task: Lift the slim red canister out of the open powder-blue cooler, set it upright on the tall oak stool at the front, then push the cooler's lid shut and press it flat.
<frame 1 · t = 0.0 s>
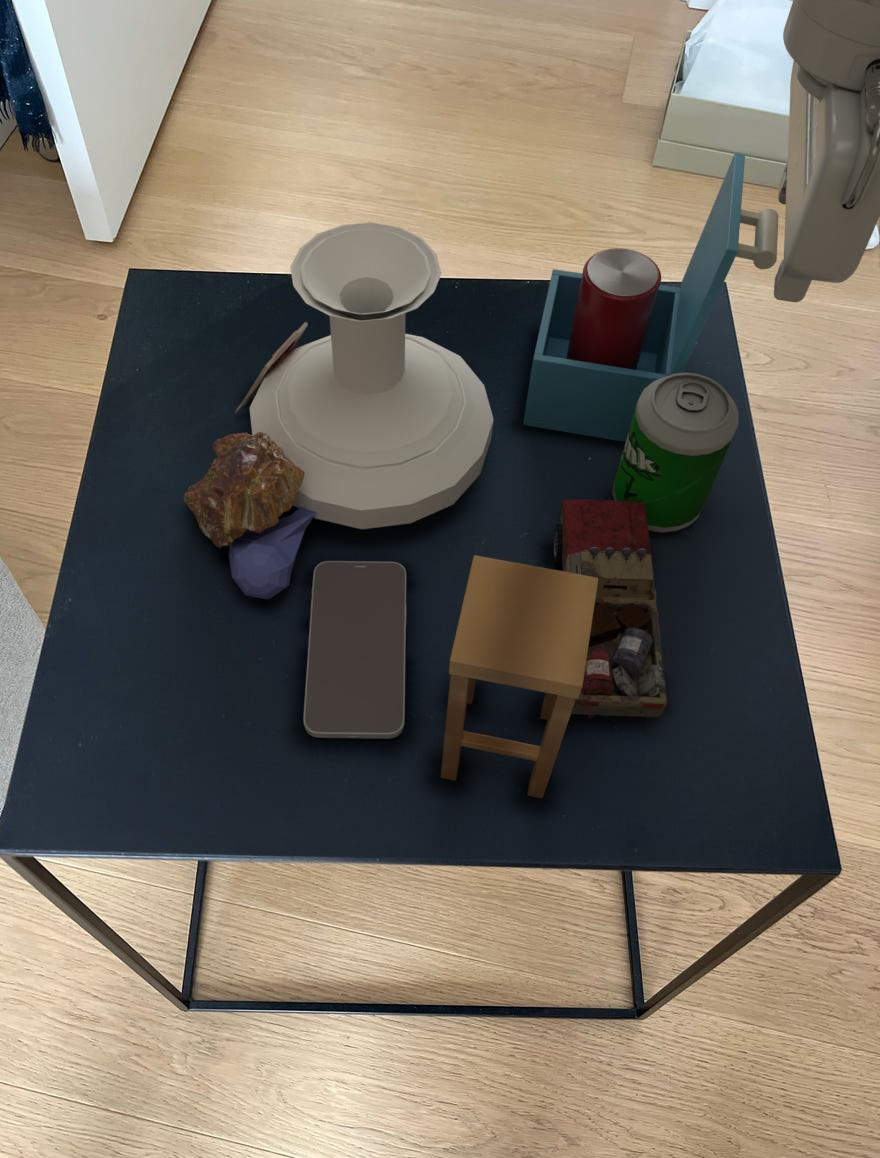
hand: (788, 244, 63), 24 cm above the table, tool pointing down, fingers open, 8 cm apart
decorative emblem: (308, 321, 84), point 7 cm above the table, touching candle holder
mineral specimen: (219, 447, 75), point 8 cm above the table, touching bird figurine, candle holder
red canister: (596, 384, 89), point 1 cm above the table, touching cooler
candle holder: (372, 458, 85), on the table, touching decorative emblem, mineral specimen
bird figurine: (261, 556, 74), point 5 cm above the table, touching mineral specimen
soda can: (654, 505, 83), on the table
smartphone: (357, 650, 75), on the table
cooler: (594, 389, 89), on the table
toy vehicle: (600, 627, 77), on the table
stool: (499, 742, 72), on the table
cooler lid: (729, 274, 76), point 14 cm above the table, hinge at 95.0°
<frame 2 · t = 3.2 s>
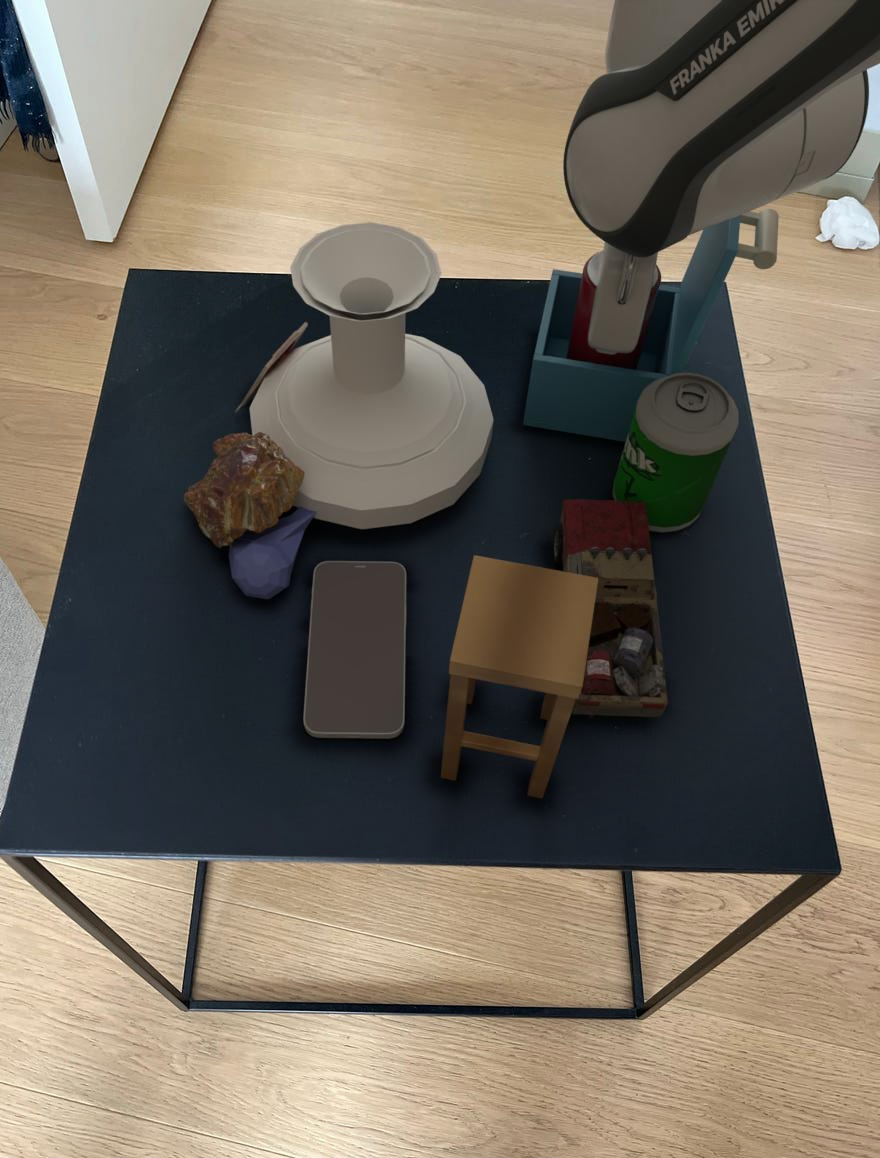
hand: (612, 316, 82), 8 cm above the table, tool pointing down, fingers closed on red canister, 6 cm apart
mineral specimen: (219, 447, 75), point 8 cm above the table, touching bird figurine, candle holder
red canister: (596, 383, 89), point 1 cm above the table, touching cooler, gripper
everything else where it was.
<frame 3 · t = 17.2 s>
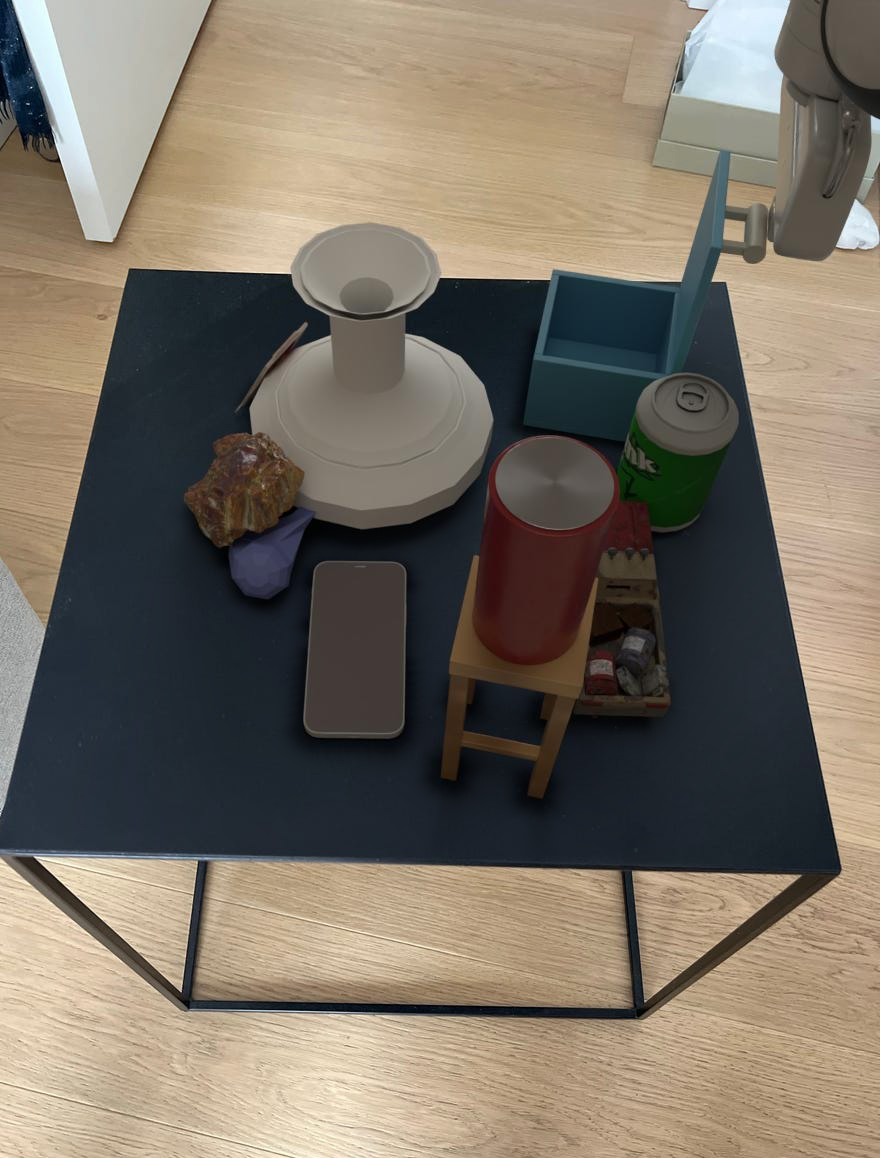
hand: (778, 230, 73), 18 cm above the table, tool pointing down, fingers closed, pressing on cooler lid
mineral specimen: (219, 447, 75), point 8 cm above the table, touching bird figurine, candle holder
red canister: (525, 618, 57), point 17 cm above the table, touching stool
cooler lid: (722, 271, 76), point 14 cm above the table, hinge at 89.7°, touching gripper
everything else where it was.
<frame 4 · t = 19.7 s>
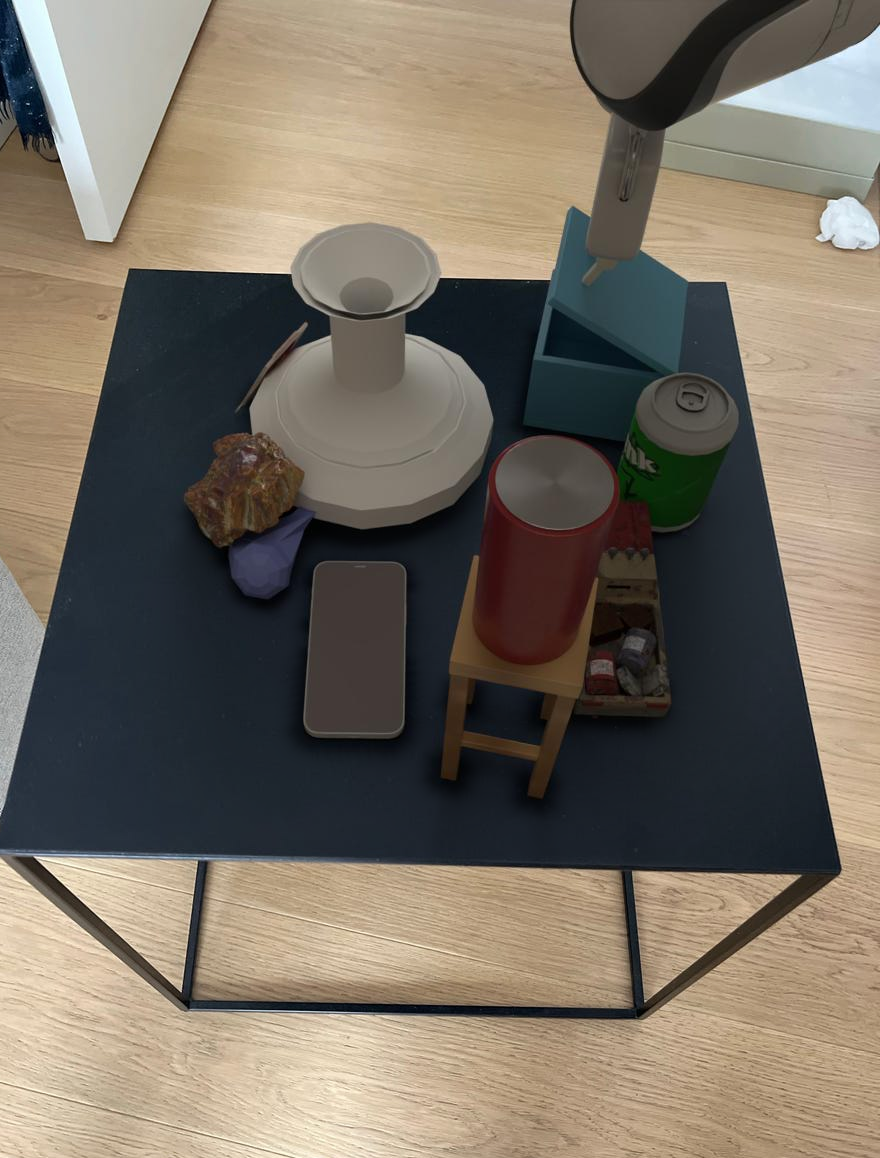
hand: (611, 231, 76), 16 cm above the table, tool pointing down, fingers closed, pressing on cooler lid
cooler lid: (635, 277, 79), point 13 cm above the table, hinge at 27.2°, touching gripper
everything else where it was.
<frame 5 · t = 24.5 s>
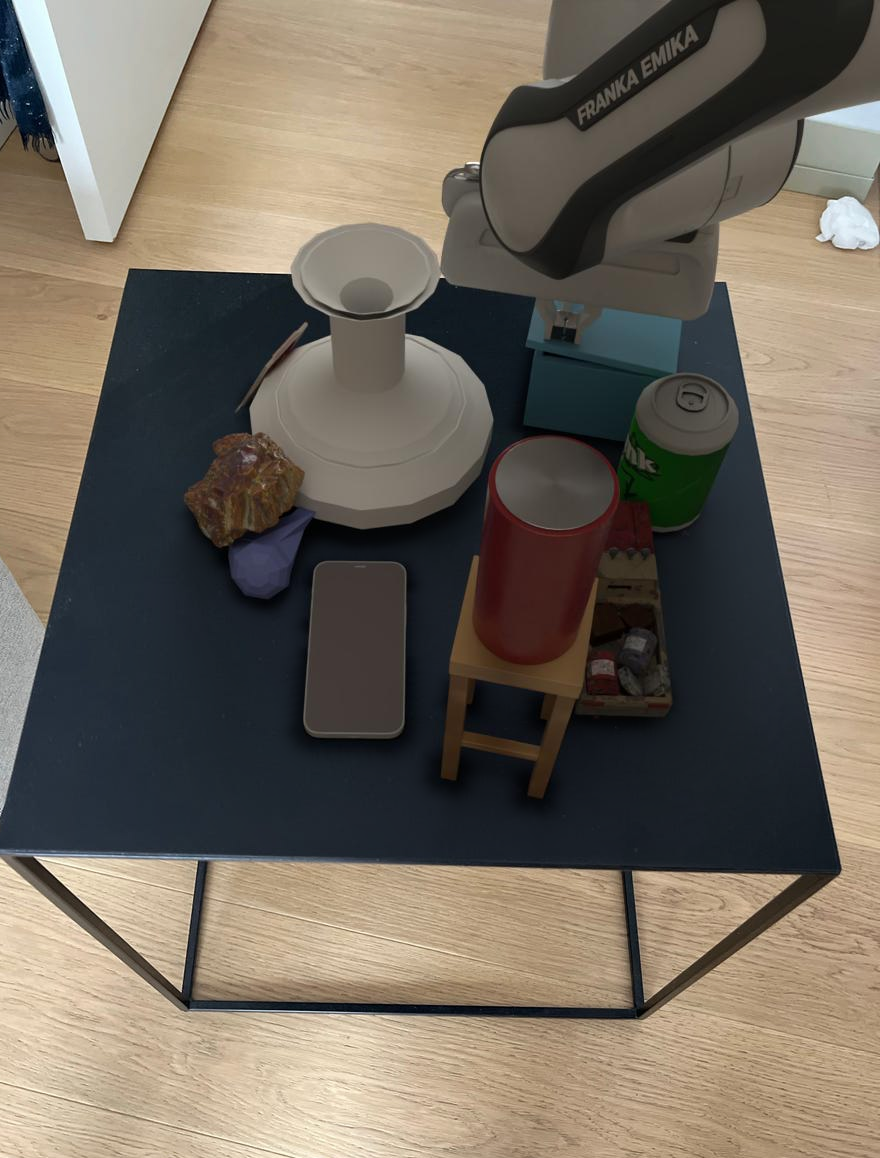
hand: (562, 336, 79), 10 cm above the table, tool pointing down, fingers closed
mineral specimen: (219, 447, 75), point 8 cm above the table, touching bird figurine, candle holder
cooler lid: (614, 295, 80), point 10 cm above the table, hinge at 5.0°, touching gripper
everything else where it was.
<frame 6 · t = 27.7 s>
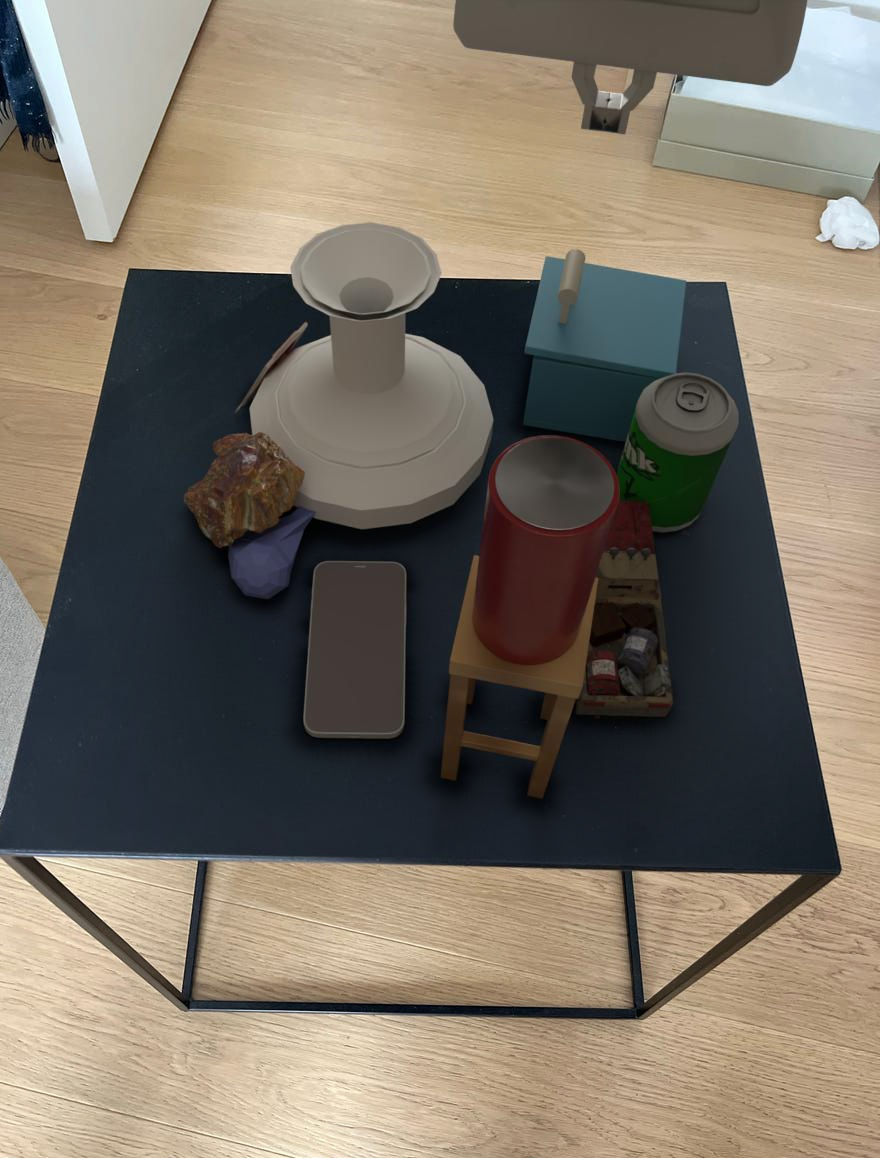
hand: (603, 127, 64), 27 cm above the table, tool pointing down, fingers closed
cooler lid: (612, 298, 81), point 10 cm above the table, hinge at 1.8°
everything else where it was.
at the end: red canister 0.0 cm off-centre on the stool, point 17.0 cm above the stool's base; red canister tilted 0°; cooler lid at +2° (first picture: +95°) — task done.
